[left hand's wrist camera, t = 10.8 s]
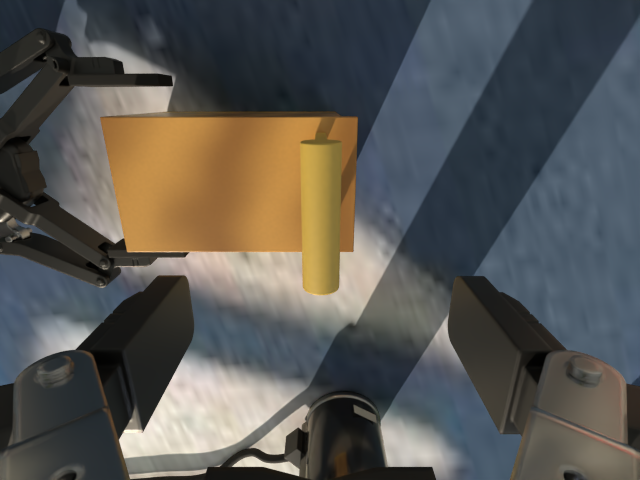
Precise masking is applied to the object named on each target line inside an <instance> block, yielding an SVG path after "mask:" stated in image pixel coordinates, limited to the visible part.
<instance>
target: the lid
mask: <svg viewBox="0 0 640 480" xmlns="http://www.w3.org/2000/svg"><path fill="white" fill-rule="evenodd" d="M100 119H101V124H102V129H103V134H104V139H105V144H106V149H107V154H108V159H109V164H110V169H111V174H112V179H113V184H114V189H115V194H116V199H117V204H118V209H119V214H120V219H121V224H122V228H123V233H124V238H125V243H126V248H127V252H302V269H303V288H304V290H305V291H306V292H308V293H310V294H314V295H328V294H332V293H334V292H336V291H337V290H338V288H339V263H340V252H353V246H354V217H355V188H356V160H357V131H358V117H356V116H107V117H100Z"/></svg>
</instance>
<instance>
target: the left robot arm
mask: <svg viewBox="0 0 640 480" xmlns="http://www.w3.org/2000/svg"><path fill="white" fill-rule="evenodd" d="M193 333H194V318H193V311H192V304H191V297H190V290H189V283H188V280H187V278H186V276H157V277H156V278H155V279H154V280H153V282H152V283H151V284H150V285H149V286H148V287H147V288H146V289H145V290H144V291H143V292H138V293H136V294H134V295H133V296H131V297H129V298H127V299H126V300H124V301H123V302H122V303H121V304H120V305H119V306H118V307H117V308H116V309H115V310H114V311H113V314H110V315H109V316H108V317H107V318H106V319H105V320H104V323H101V324H100V325H99V326H98V327H97V328H96V329H95V330H94V331H93V332H92V333H91V334H90V335H89V336H88V337H87V338H86V339H85V340H84V341H83V342H82V344H81V345H80V346H79V347H78V348H77V349H76V350H69V351H63V352H59V353H55V354H52V355H50V356H47V357H45V358H42V359H40V360H38V361H36V362H35V363H33V364H31V365H30V366H28V367H27V368H26V369H24V370H23V371H22V372H21V373H20V374H19V375H18V377H17V378H16V380H15V382H14V383H12V384H7V385H2V386H0V480H436V478H435V475H434V471H433V468H432V467H388V464H387V459H386V453H385V448H384V442H383V437H382V432H381V423H380V416H379V412H378V410H377V408H376V406H375V405H374V404H373V402H371V401H370V400H369V399H368V398H366V397H364V396H362V395H360V394H357V393H353V392H335V393H331V394H328V395H326V396H323V397H322V398H320V399H318V400H317V401H316V402H315V403H314V404H313V405H312V406H311V408H310V410H309V412H308V415H307V421H306V422H305V423H304V424H302V430H301V429H300V428H297V429H296V430H294V431H293V432H291V433H290V434H289V435H287V436H286V444H285V454H279V455H270V454H266V453H264V452H262V451H261V450H259V449H256V448H250V449H245V450H242V451H240V452H238V453H236V454H235V455H234V456H232V457H231V458H230V459H229V460H227V461H226V462H225V463H224V464H223V465H221V466H220V467H208V468H207V471H206V473H204V474H200V475H193V476H164V477H151V478H140V479H130V478H129V474H128V471H127V467H126V464H125V460H124V457H123V453H122V450H121V447H120V443H119V438H120V437H121V435H122V433H143V431H144V429H145V427H146V425H147V424H148V422H149V420H150V418H151V416H152V414H153V412H154V410H155V409H156V407H157V405H158V403H159V401H160V399H161V397H162V395H163V394H164V392H165V390H166V388H167V386H168V384H169V382H170V380H171V379H172V377H173V375H174V373H175V371H176V369H177V367H178V365H179V364H180V362H181V360H182V358H183V356H184V354H185V352H186V350H187V349H188V347H189V345H190V343H191V341H192V338H193ZM448 334H449V338H450V341H451V344H452V346H453V347H454V349H455V351H456V353H457V355H458V357H459V359H460V360H461V362H462V364H463V366H464V368H465V370H466V371H467V373H468V375H469V377H470V379H471V381H472V383H473V384H474V386H475V388H476V390H477V392H478V394H479V396H480V397H481V399H482V401H483V403H484V405H485V407H486V409H487V410H488V412H489V414H490V416H491V418H492V420H493V422H494V423H495V425H496V427H497V429H498V431H499V433H500V434H520V435H521V436H522V440H521V443H520V447H519V450H518V453H517V457H516V460H515V464H514V467H513V471H512V474H511V478H510V480H640V386H635V385H630V384H626V382H625V380H624V378H623V377H622V375H621V374H620V373H619V372H618V371H617V370H616V369H614V368H613V367H612V366H610V365H609V364H607V363H605V362H604V361H602V360H600V359H598V358H595V357H593V356H590V355H588V354H585V353H581V352H577V351H571V350H567V349H566V348H565V347H564V346H563V345H562V344H561V343H560V342H559V341H558V340H557V339H556V338H555V337H554V336H553V335H552V334H551V333H550V332H549V331H548V330H547V329H546V328H545V327H544V326H543V325H542V324H541V323H539V322H538V320H537V319H536V318H535V317H534V316H533V315H532V314H530V312H529V311H528V310H527V309H526V308H525V307H524V306H523V305H522V304H521V303H520V302H519V301H517V300H516V299H514V298H512V297H510V296H509V295H507V294H505V293H503V292H499V291H498V290H497V289H496V288H495V287H494V286H493V285H492V284H491V283H490V282H489V281H488V280H487V279H486V278H485V277H484V276H457V277H456V278H455V280H454V284H453V290H452V297H451V304H450V311H449V318H448ZM250 456H254V457H256V458H258V459H259V460H261V461H263V462H266V463H282V462H288V461H289V462H291V463H292V464H293V465H295V466H296V467H297V468H299V469H300V471H299V476H296V475H292V474H288V473H284V472H280V471H276V470H272V469H269V468H265V467H232V466H233V465H234V464H235V463H237V462H238V461H239V460H241V459H243V458H245V457H250Z"/></svg>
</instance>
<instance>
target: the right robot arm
mask: <svg viewBox="0 0 640 480" xmlns="http://www.w3.org/2000/svg"><path fill="white" fill-rule="evenodd" d="M71 46H72V44H71V40H70V39H69V37H68V36H66V35H64V34H61V33H57V32H53V31H49V30H45V29H41V28H37V29H35V30H33V31H32V32H30V33H29V34H27V35H26V36H24V37H23V38H21V39H20V40H18V41H17V42H15V43H14V44H13V45H11V46H10V47H8V48H7V49H5V50H4V51H2V52H1V53H0V94H2V93H4V92H6V91H7V90H9V89H10V88H12V87H14V86H15V85H17V84H18V83H20V82H21V81H23V80H24V79H26V78H27V77H29V76H31V75H32V74H34V73H35V72H37V71H38V70H40V69H41V68H42V69H41V71H40V72H39V73H38V74H37V75H36V77H35V78H34V79H33V80H32V82H31V83H30V84H29V85H28V87H27V88H26V89H25V90H24V91H23V93H22V94H21V95H20V96H19V98H18V99H17V100H16V101H15V102H14V104H13V105H12V106H11V107H10V109H9V110H8V111H7V112H6V114H5V115H4V116H3V117H2V118H1V119H0V254H5V255H16V256H21V257H24V258H26V259H29V260H31V261H34V262H36V263H39V264H41V265H44V266H46V267H49V268H52V269H54V270H57V271H59V272H62V273H64V274H67V275H69V276H72V277H74V278H77V279H79V280H82V281H84V282H87V283H90V284H92V285H95V286H97V287H100V288H103V287H106V286H107V285H108V284H109V283H110V282H111V281H113V280H114V279H115V278H116V277H117V276H118V275H119V274H120V273H121V269H120V267H146V266H148V265H151V264H152V263H153V262H154V261H155V260H156V259H157V257H186V255H187V254H188V253H189V252H127V248H126V243H125V238H123V239H122V240H120V241H119V242H117V243H116V244H115V243H113V242H112V241H110V240H109V239H107V238H106V237H104V236H103V235H101V234H100V233H98V232H97V231H95V230H94V229H92V228H91V227H89V226H88V225H86V224H85V223H83V222H82V221H80V220H79V219H77V218H76V217H74V216H73V215H71V214H70V213H68V212H67V211H65V210H64V209H62V208H61V207H60V206H59V203H58V202H57V201H56V200H55V199H53V198H52V197H50V196H49V195H47V194H46V193H44V192H43V190H44V188H46V187H47V186H46V183H45V179H44V177H43V175H42V173H41V171H40V169H39V157H38V153H37V151H33V149H32V148H31V147H30V145H29V143H30V142H31V141H32V140H33V139H34V137H35V136H36V135H37V134H38V133H39V131H40V130H39V127H40V126H41V125H42V124H43V122H44V121H45V120H46V119H47V118H48V117H49V115H50V114H51V113H52V112H53V111H54V110H55V108H56V107H57V106H58V105H59V104H60V103H61V101H62V100H63V99H64V98H65V97H66V96H67V94H68V93H69V92H70V91H71V90H72V89H73V87H74V86H85V87H137V86H173V82H172V76H169V75H163V74H124V68H123V63H122V62H121V61H119V60H116V59H112V58H107V57H77V56H76V55H75V54H74V52H73V51H72V49H71ZM32 204H35V205H36V206H33V207H30V206H31V205H32ZM15 219H18V220H19V221H21V222H22V223H24V224H28V225H34V226H36V227H38V228H39V229H41V230H42V231H44V232H45V233H47V234H48V235H50V236H51V237H53V238H55V239H56V240H54V239H52V238H49V237H47V236H44V235H41V234H36V233H32V229H31V228H24V227H21V226H19V225H18V224H17V223H16V221H15ZM57 240H58V241H57Z"/></svg>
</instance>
